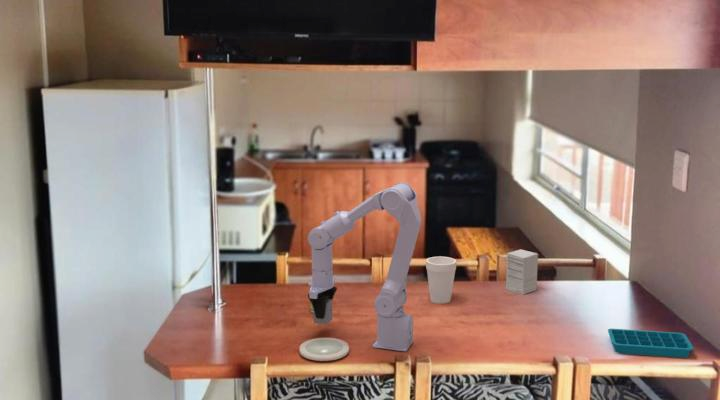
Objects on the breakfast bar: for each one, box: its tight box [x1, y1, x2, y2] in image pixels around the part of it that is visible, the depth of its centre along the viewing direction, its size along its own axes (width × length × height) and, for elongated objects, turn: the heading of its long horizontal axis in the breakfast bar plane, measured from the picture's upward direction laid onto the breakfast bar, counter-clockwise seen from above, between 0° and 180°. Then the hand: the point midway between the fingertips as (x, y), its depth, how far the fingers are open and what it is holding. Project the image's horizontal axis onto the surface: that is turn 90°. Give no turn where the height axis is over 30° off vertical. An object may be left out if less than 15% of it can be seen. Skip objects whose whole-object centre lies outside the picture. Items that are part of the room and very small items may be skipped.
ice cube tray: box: [607, 328, 695, 359], centre depth 206 cm, size 12×20×3 cm, turn 80°
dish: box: [299, 337, 350, 362], centre depth 203 cm, size 13×13×2 cm
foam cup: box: [425, 255, 457, 305], centre depth 242 cm, size 10×9×13 cm
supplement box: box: [505, 248, 539, 296], centre depth 252 cm, size 7×7×13 cm
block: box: [313, 299, 333, 325], centre depth 215 cm, size 4×4×6 cm
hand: (323, 315), depth 215 cm, fingers closed on block, 4 cm apart
